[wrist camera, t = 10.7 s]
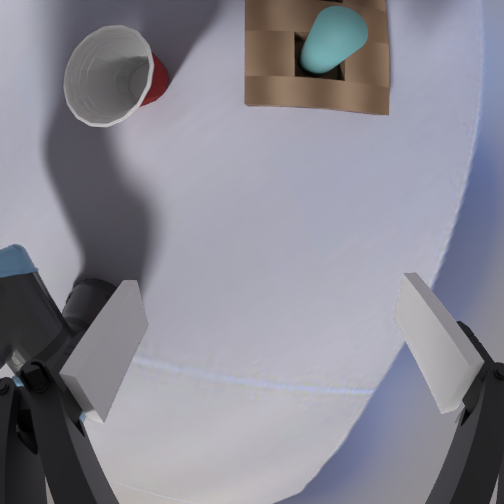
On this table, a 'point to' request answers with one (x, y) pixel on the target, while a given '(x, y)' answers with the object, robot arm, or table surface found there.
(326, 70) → the teal peg
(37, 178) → the table surface
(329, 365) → the table surface
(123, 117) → the plastic cup
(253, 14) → the bore block
